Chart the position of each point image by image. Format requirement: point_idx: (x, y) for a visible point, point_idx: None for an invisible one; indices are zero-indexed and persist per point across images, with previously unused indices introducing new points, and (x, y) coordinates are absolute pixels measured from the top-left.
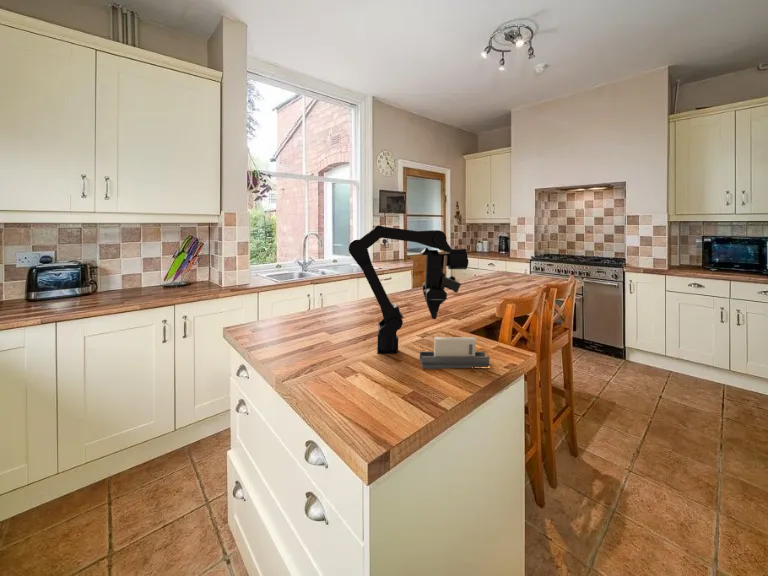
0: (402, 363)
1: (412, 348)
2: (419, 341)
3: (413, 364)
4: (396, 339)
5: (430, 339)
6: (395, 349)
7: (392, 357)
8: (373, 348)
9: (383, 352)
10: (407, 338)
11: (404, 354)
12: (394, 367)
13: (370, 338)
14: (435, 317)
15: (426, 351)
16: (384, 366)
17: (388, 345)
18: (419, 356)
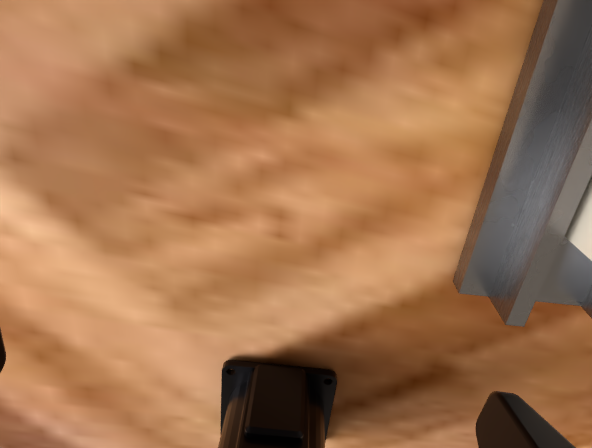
0: (483, 365)
1: (238, 275)
2: (76, 200)
3: None
4: (304, 437)
5: (3, 99)
6: (309, 385)
7: (382, 391)
8: None
9: (327, 428)
10: (18, 265)
11: (345, 334)
12: None
13: (63, 440)
14: (534, 425)
15: (526, 287)
16: None
17: (324, 444)
18: (467, 293)
